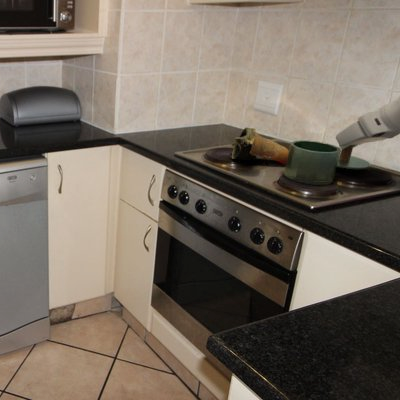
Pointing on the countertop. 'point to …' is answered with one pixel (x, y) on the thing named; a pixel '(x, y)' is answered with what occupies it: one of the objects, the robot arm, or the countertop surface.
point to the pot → (257, 147)
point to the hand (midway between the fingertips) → (345, 146)
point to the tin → (312, 162)
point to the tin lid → (351, 160)
